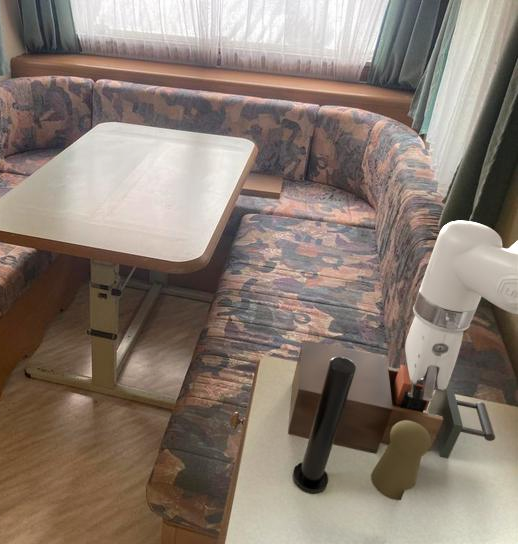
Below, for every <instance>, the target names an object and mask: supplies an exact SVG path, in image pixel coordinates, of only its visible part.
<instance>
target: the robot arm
mask: <svg viewBox="0 0 518 544" xmlns="http://www.w3.org/2000/svg"><path fill="white" fill-rule="evenodd" d="M482 298H483V299H485V300H486V301H488V302H489V303H491V304H493V305H494V306H496V307H498V308H499V309H501V310H504V311H505V312H507V313H510V314H514V315H518V240H517V241H516V242H514V243H513V244H512V245H511V246H510V247H509V248H505V247H503V239H502V237H501V235H499V234H498V232H497V231H495V230H494V229H492V228H491V227H489V226H487V225H484V224H481V223H478V222H475V221H468V220H455V221H450V222H448V223H447V224H445V225H443V227H442V228H441V229H440V231H439V233H438V236H437V238H436V241H435V244H434V246H433V249H432V252H431V254H430V258H429V261H428V263H427V266H426V270H425V271H424V275H423V279H422V280H421V283H420V287H419V290H418V292H417V295H416V299H415V301H414V303H413V306H412V312H413V314H414V317H413V319H412V322H411V325H410V328H409V330H408V333H407V337H406V340H405V344H404V352H405V358H406V359H405V361H404V362H403V365H405V366H408V371H409V376H410V380H411V384H410V387H409V391H408V392H405V394H404V397H403V400H402V402H401V405H400V408H405V409H410V410H414V411H419V412H424V411H425V410H424V408H425V406H426V403H427V401H430V402H431V401H432V398H433V395H434V393H435V390H434V389H435V385H436V387H437V386H438V389H441V390H444V389H446V387H447V385H448V383H449V380H450V378H451V377H452V374H453V372H454V368H455V366H456V363H457V360H458V357H459V353H460V351H461V350H460V349H461V347H462V342H463V338H464V337H463V336H464V331H466V330H468V329H469V328H470V326H471V324H472V321H473V319H474V316H475V314H476V311H477V309H478V306H479V305H480V304H479V303H480V301H481V299H482ZM423 377H424V378H423ZM417 384H420V385H423V388H422V390H419V389H416V390H415V388H416V385H417Z"/></svg>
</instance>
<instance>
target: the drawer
mask: <svg viewBox="0 0 518 544" xmlns="http://www.w3.org/2000/svg"><path fill="white" fill-rule="evenodd" d="M388 371H389V380H390V388H391V396H392V405H393V411H392V414H391V416H390V419H389V422H388V424H387V427H386V430H385V432H384V435H383V438H382V441H381V443H380V444H383V445H385V446H388V445H389V444H390V432H391V429H392V427H393V426H394V425H395V424H396V423H398V422H400V421H404V420H408V421H413V422H416V423H418V424H420V425H421V426H423V427H424V428H425V429H426V430H427V432H428V433H429V435H430V439H431V445H430V448H429V450H428V451H427V452H431V448H432V447H433V445H434V442H435V441H436V446H437V451H438V456H439V458H442V459H443V458H444V459H446V460H447V459H449V457H450V455H451V453H452V451H453V449H454V446H455V445H456V442H457V441H458V438H459V436H460V435H461V433H463V434H468V435H473V436H478V437H482V438H484V439H485V441H488V442H493V441H495V439H496V435H495V431H494V429H493V428H494V427H493V426H492V423H491V419H490V415H489V412H488V409H487V406H486V404H485V403H484V402H483V401H479V402H476V403H474V402H469V401H464V400H460V399H457V398H456V393H455V390H454V389H455V388H454V386H453V382H452V378H451V377H450V380H449V383H448V385H447V387H446V389H444V390H441V389H438V386H437V385H436V388H435V390H434V392H433V398H432V401H430V402H429V404H428V407H427V412H424V411H423V412H419V411H414V410H410V409H405V408H400V405H396V402H395V395H394V387H393V385H394V382H395V380H396V377H397V374H398V371H399V368H395V367H391V366H388ZM459 406H460V407H465V408H468V409H469V408H470V409H474V410H475V411H476V415H477V417H478V420H479V424H480V427H481V430H479V429H475V428H471V427H465V426H464V425H463V421H462V417H461V413H460V410H459Z"/></svg>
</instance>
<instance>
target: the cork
mask: <svg viewBox="0 0 518 544" xmlns="http://www.w3.org/2000/svg"><path fill="white" fill-rule="evenodd" d="M430 445H431V439H430V435H429V433H428V432H427V430H426V429H425V428H424V427H423V426H421V425H420V424H418V423H416V422H413V421H408V420H404V421H400V422H398V423H396V424H395V425H394V426H393V427H392V429H391V432H390V444H389V445H387V447H386V448H385V450H384V452H383V453H382V455H381V457H380V458H379V460H378V462H377V463H376V464H375V466H374V468H373V469H372V471H371V473H370V480H371V483H372V486H373V487H374V488H375V490H376V491H378V492H379V493H380V494H381V495H383V496H384V497H386V498H388V499H390V500H395V501H402V498H403V496H404V494H405V491H408V490H411V489H412V488H414V486H415V485H416V482H417V477H418V472H419V469H420V464H421V459H422V457H423V456H424V455H426V454H427V453H428V452H429V451H428V450H429V448H430Z"/></svg>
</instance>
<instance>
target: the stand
mask: <svg viewBox="0 0 518 544" xmlns="http://www.w3.org/2000/svg"><path fill="white" fill-rule="evenodd" d="M355 371H356V366H355V364H354V363H353V362H352V361H351V360H349V359H347V358H344V357H335V358H332V359H331V361H330V364H329V367H328V371H327V375H326V378H325V382H324V386H323V389H322V393H321V397H320V400H319V404H318V407H317V411H316V415H315V418H314V422H313V426H312V429H311V433H310V437H309V439H308V441H307V444H306V448H305V452H304V454H303V459H302V461H301V462H299V463H297V464H296V465H295V466H294V468H293V471H292V481H293V484H294V485H295V486H296V487H297V488H298V489H299V490H300V491H302V492H304V493H306V494H309V495H318V494H321V493H323V492H325V491H326V489H327V487H328V484H329V475H328V473H327V471H326V468H327V464H328V461H329V458H330V455H331V451H332V448H333V446H334V444H333V442H334V439H335V435H336V432H337V429H338V426H339V422H340V419H341V416H342V413H343V409H344V406H345V403H346V400H347V396H348V393H349V390H350V387H351V384H352V380H353V377H354V374H355Z"/></svg>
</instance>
